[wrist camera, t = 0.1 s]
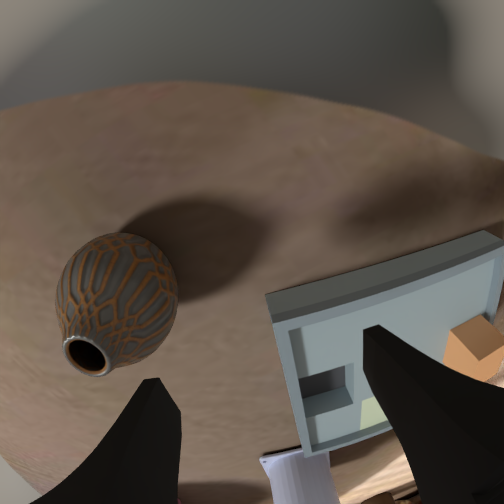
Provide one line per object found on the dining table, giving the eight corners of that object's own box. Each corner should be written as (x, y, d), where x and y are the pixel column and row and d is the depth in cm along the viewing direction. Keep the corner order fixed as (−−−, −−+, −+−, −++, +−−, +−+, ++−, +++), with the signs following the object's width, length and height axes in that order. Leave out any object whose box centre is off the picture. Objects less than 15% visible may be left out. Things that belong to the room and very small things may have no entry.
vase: (145, 198, 17) (86, 254, 9) (204, 287, 20) (196, 386, 11) (70, 252, 18) (-1, 323, 10) (127, 327, 20) (92, 419, 12)
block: (471, 346, 22) (496, 373, 18) (442, 361, 22) (466, 392, 18) (480, 314, 20) (509, 341, 16) (449, 329, 20) (478, 361, 16)
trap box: (456, 371, 27) (470, 389, 24) (298, 432, 27) (304, 457, 24) (483, 229, 20) (509, 243, 17) (264, 294, 20) (272, 323, 17)
